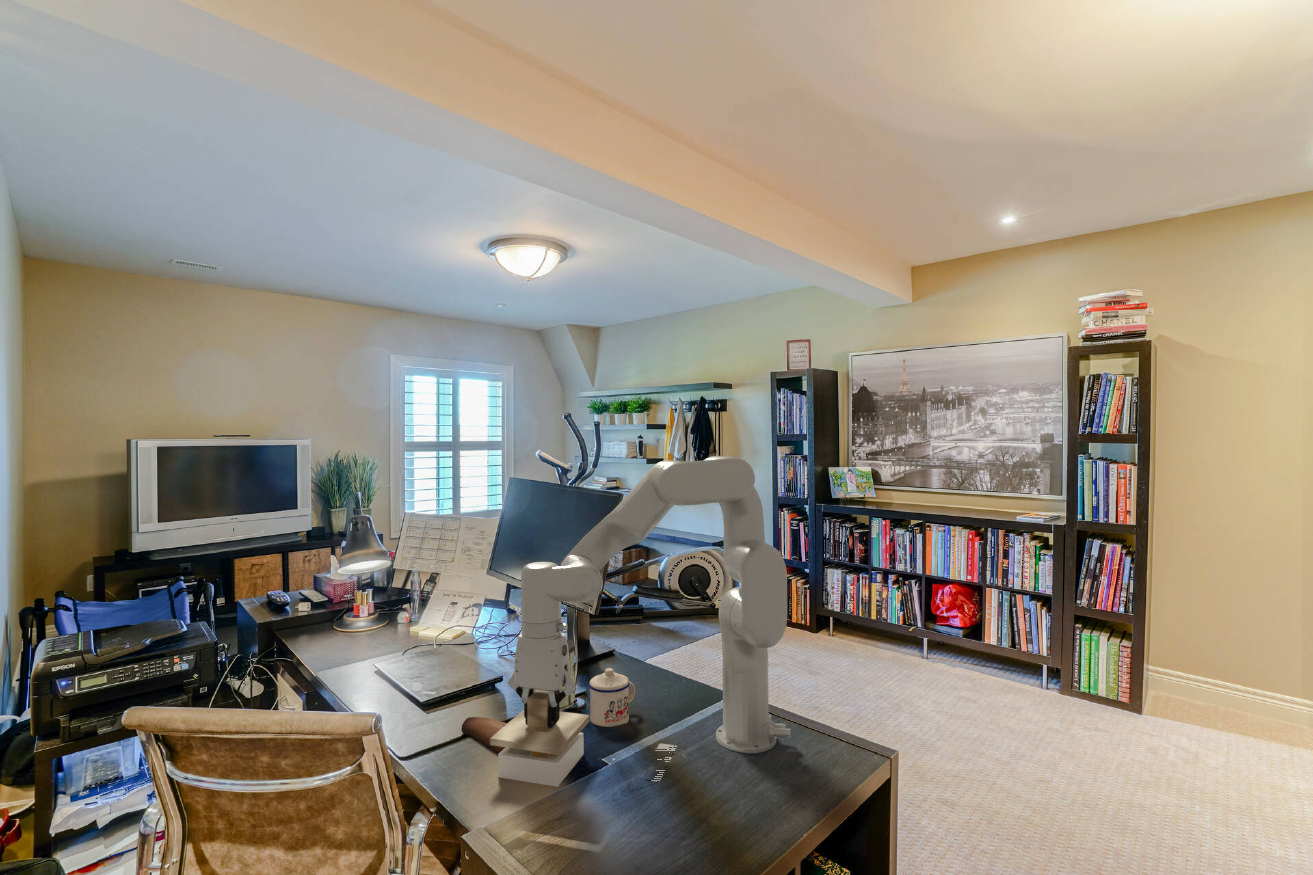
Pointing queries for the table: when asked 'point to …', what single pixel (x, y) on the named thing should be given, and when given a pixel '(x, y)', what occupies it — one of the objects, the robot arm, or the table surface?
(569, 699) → the coffee can
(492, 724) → the sunglasses case
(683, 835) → the table surface
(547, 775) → the dish
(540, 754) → the ball
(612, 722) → the teacup with lid
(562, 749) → the lid
